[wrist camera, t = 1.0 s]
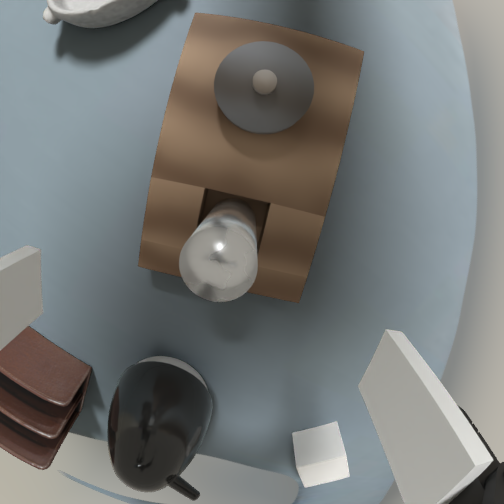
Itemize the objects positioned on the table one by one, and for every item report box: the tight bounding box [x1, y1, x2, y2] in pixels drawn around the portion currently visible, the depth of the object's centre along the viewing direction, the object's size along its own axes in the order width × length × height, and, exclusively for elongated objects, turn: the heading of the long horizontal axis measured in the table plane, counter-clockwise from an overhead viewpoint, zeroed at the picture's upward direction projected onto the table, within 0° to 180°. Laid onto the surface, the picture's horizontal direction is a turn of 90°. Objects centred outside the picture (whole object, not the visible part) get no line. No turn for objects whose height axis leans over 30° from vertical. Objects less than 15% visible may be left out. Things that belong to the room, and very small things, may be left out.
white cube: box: [292, 421, 350, 487], centre depth 33 cm, size 6×6×6 cm
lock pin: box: [179, 198, 258, 302], centre depth 21 cm, size 4×4×12 cm
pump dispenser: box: [107, 356, 213, 500], centre depth 25 cm, size 10×10×15 cm
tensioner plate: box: [138, 13, 364, 303], centre depth 22 cm, size 22×14×6 cm, turn 167°
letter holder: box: [0, 326, 92, 470], centre depth 26 cm, size 10×20×14 cm, turn 61°
